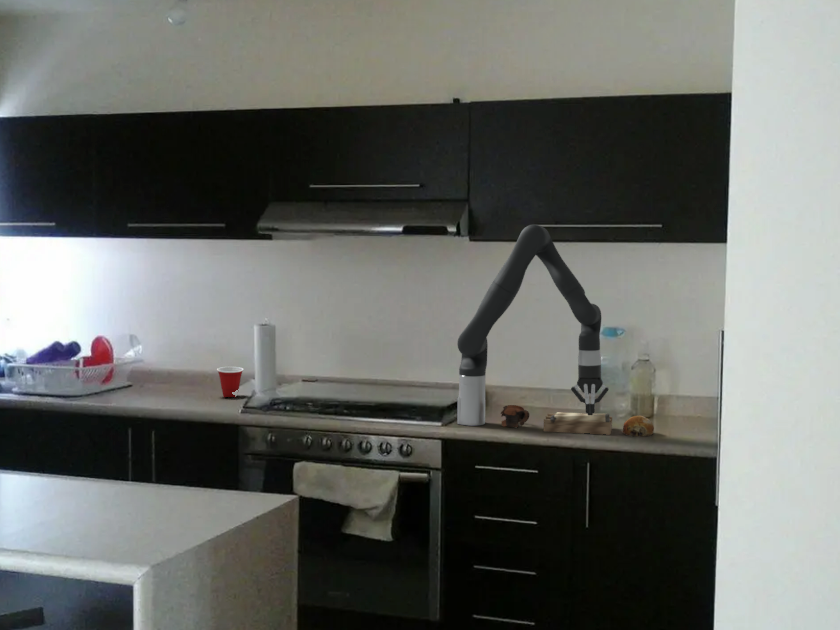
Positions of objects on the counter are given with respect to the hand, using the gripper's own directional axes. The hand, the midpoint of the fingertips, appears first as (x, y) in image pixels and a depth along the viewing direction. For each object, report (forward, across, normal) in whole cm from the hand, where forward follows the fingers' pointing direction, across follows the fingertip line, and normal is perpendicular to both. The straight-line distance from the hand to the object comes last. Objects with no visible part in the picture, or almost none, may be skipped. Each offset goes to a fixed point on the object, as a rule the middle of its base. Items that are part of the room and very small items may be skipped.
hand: (590, 414), depth 307 cm
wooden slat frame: (+6, -4, +3) cm, 8 cm away
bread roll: (+7, +16, +1) cm, 17 cm away
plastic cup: (+1, -149, +35) cm, 153 cm away
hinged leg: (+3, -4, 0) cm, 4 cm away
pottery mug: (+5, -26, +4) cm, 27 cm away
